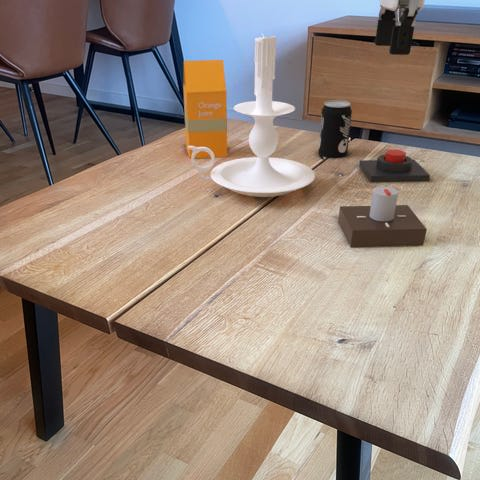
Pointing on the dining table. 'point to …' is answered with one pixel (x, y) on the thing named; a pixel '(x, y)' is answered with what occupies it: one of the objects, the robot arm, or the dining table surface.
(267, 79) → the candlestick
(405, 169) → the dark grey device base
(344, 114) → the beverage can
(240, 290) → the dining table surface
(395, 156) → the power button
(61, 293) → the dining table surface
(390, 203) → the warmer dial
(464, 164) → the dining table surface
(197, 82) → the orange juice
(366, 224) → the panel
